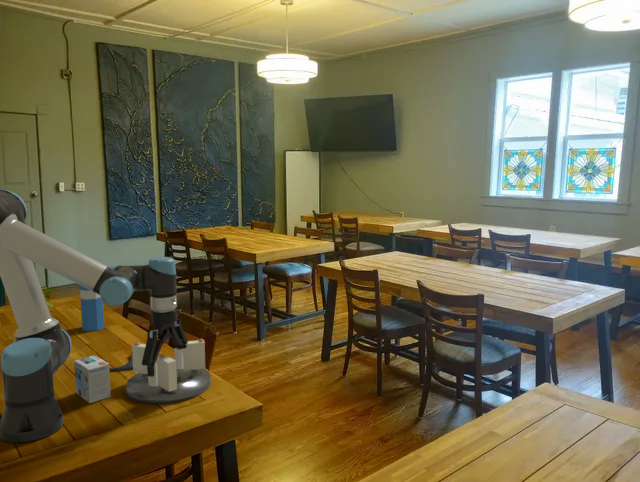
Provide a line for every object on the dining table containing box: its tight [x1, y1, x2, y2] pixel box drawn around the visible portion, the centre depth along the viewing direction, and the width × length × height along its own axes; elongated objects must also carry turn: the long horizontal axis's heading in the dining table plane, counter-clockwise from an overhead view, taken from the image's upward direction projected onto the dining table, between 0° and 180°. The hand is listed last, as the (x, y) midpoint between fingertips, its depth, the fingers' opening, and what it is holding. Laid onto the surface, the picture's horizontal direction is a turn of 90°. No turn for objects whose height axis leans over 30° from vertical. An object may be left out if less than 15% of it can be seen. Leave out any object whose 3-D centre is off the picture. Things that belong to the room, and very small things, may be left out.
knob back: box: [131, 341, 157, 377], centre depth 169 cm, size 7×3×11 cm, turn 73°
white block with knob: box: [156, 353, 177, 392], centre depth 158 cm, size 7×3×11 cm, turn 46°
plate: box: [125, 368, 211, 405], centre depth 167 cm, size 26×26×4 cm
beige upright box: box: [183, 338, 206, 373], centre depth 172 cm, size 7×3×11 cm, turn 107°
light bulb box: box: [73, 355, 112, 404], centre depth 160 cm, size 11×7×11 cm, turn 47°
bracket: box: [109, 350, 133, 373], centre depth 187 cm, size 14×15×3 cm
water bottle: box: [79, 285, 105, 332], centre depth 225 cm, size 9×9×25 cm
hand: (166, 376), depth 158 cm, fingers open, 13 cm apart
